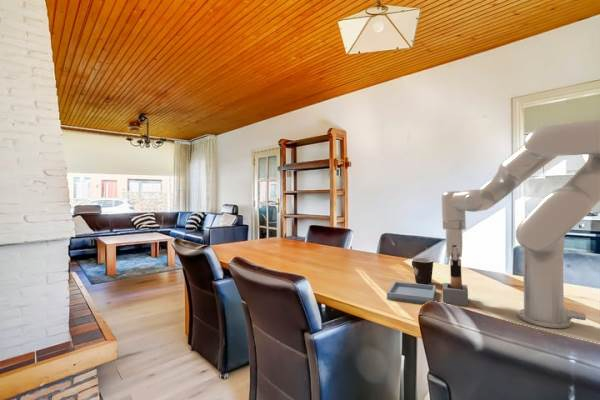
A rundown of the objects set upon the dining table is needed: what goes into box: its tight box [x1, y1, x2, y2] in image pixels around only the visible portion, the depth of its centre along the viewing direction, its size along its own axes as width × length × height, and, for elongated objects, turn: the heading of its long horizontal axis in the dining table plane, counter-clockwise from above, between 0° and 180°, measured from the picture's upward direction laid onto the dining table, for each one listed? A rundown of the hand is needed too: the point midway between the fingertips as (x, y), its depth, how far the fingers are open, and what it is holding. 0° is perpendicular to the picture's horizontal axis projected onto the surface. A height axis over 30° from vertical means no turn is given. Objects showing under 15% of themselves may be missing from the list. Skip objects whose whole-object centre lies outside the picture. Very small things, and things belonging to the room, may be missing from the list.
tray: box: [386, 281, 437, 305], centre depth 119 cm, size 16×16×2 cm
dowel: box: [449, 258, 463, 289], centre depth 112 cm, size 4×4×12 cm
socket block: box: [442, 282, 469, 306], centre depth 112 cm, size 8×8×5 cm
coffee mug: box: [411, 257, 434, 285], centre depth 137 cm, size 12×9×10 cm
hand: (455, 274), depth 112 cm, fingers closed on dowel, 3 cm apart
